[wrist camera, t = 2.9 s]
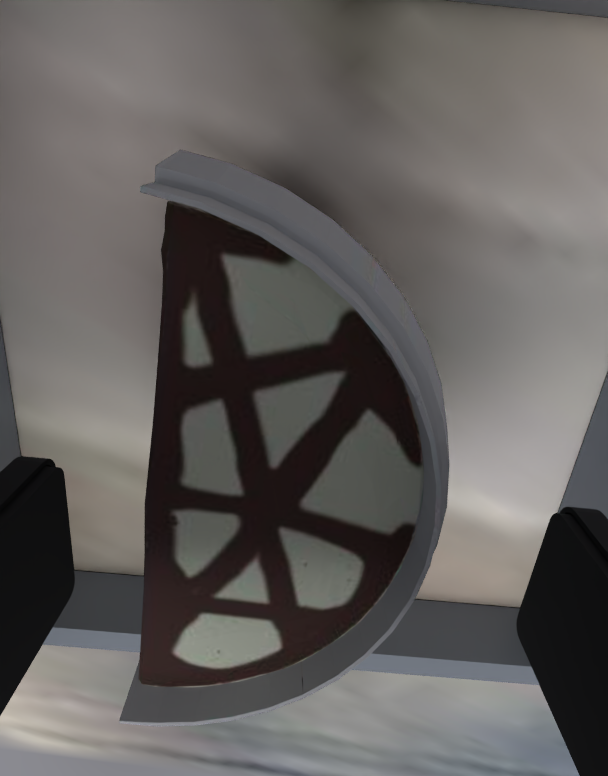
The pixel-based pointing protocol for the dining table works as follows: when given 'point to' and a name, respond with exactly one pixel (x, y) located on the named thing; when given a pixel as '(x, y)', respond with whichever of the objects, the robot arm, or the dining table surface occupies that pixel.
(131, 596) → the case
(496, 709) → the dining table surface
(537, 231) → the dining table surface
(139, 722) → the food container
